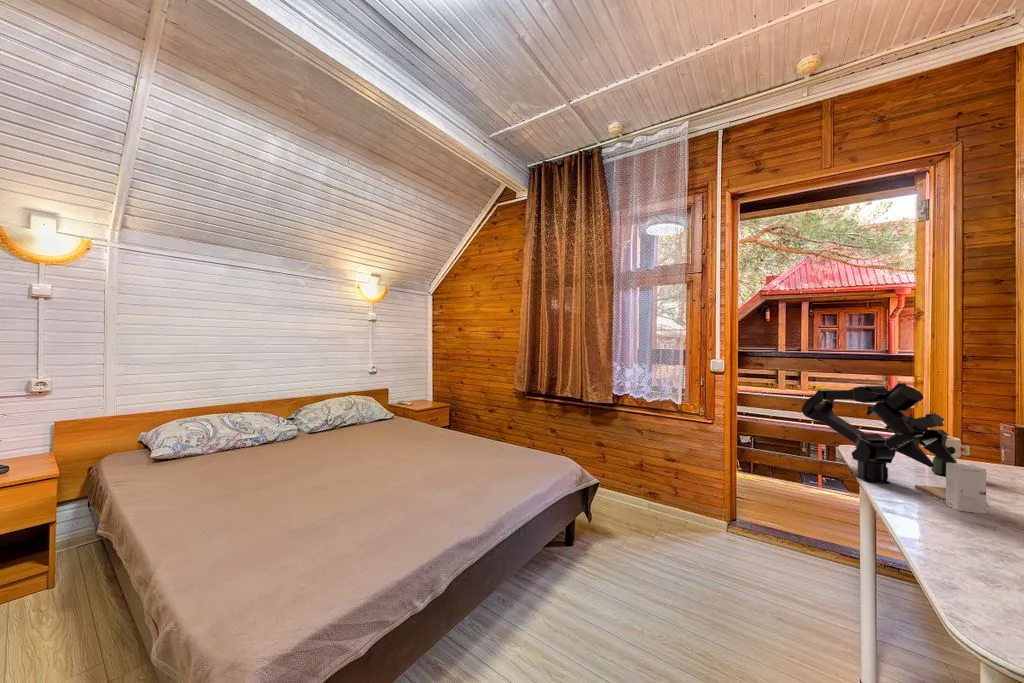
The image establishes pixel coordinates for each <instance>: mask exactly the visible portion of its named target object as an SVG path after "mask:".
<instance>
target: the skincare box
mask: <svg viewBox="0 0 1024 683" xmlns="http://www.w3.org/2000/svg"><path fill="white" fill-rule="evenodd" d="M945 488H946V502H945V504H947V506H948V507H950V508H951V507H952V508H951V509H953V508H954V510H955V511H957V512H959V511H960V512H968V513H975V514H986V513H987V505H986V502H987V469H986V468H984V467H981V466H978V465H974V464H967V463H959V462H957V463H948V462H947V463H946V473H945Z"/></svg>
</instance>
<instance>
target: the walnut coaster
mask: <svg viewBox="0 0 1024 683" xmlns="http://www.w3.org/2000/svg"><path fill="white" fill-rule="evenodd" d="M915 488H916V489H915ZM914 489H915V490H917V489H918V490H917V491H919V490H921V491H923V492H925V493H927V494H929V495H928V496H930V495H931V496H930V497H932V496H933V497H932V498H934V497H936V498H938V499H940V500H942V501H946V486H945V487H944V486H943V487H942V486H929V485H917V484H914ZM921 491H920V492H921ZM923 492H922V493H923ZM925 493H924V494H925ZM927 494H926V495H927ZM936 498H935V499H936ZM938 499H937V500H938ZM940 500H939V501H940ZM942 501H941V502H942ZM986 506H988V503H987V501H986Z"/></svg>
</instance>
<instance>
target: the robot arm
mask: <svg viewBox="0 0 1024 683" xmlns="http://www.w3.org/2000/svg"><path fill="white" fill-rule="evenodd" d="M835 400H851V401H854V402H859V403H863V404H874V405H871V406H867V407H866V408H867V411H866V415H867V416H872V415H875V416H876V417H878V418H879V419H880V421H881V422H883V424H885V425H886V426H884V428H885V429H886V430H887V431H892V432H893V433H894V434H893V435H891V436H889V437H888V438H885V437H883V436H882V435H881V434H879V433H865V432H864V431H862V430H860V429H859V428H857V427H856V426H854V425H852V424H850V423H849V422H848V421H846V420H844V419H842V418H841V417H840V416H838V415H836V414H835V413H834V410H833V408H834V407H835V402H834V401H835ZM922 400H924V396H923V394H922V392H921V391H919V390H917V389H916V388H914V387H911V386H909V385H907V384H906V383H902V382H897V383H896V384H895V385H894V387H893V388H891V389H890V390H888V389H887V388H886V386H883V385H861V386H856V387H853V388H850V389H818V390H817V391H816V392H815V394H814V395H812V396H811V397H809V398H807V400H806V401H805V402H804V404H803V405H802V407H801V412H802V414H803V416H805V418H808V419H810V420H812V421H817V422H820V423H823V424H824V425H825V426H827V427H829V428H831V429H832V430H833V431H834V432H837V433H838V434H839V435H841V436H842V437H843V438H845V439H847V440H848V441H850V442H851V443H852V444H854V446H855V450H853V451H851V456H852V460H855V461H857V473H854V476H855V477H857V478H859V479H861V480H862V481H864V480H865V481H864V482H866V481H867V482H868V483H877V484H878V483H879V484H891V482H890V481H889V467H887V464H892V462H893V460H894V457H895V456H896V452H897V453H900V454H902V455H904V456H905V457H908V458H911V460H915V461H917V462H919V463H920V464H923V465H925V466H926V467H929V468H932V467H933V466H934V464H933V460H931V459H930V458H929V456H928V455H927V454H926V453H925V452H924V451H923V450H922V449H924V448H925V449H924V450H926V451H927V452H930V454H932V453H933V455H935V456H938V457H939V458H941V459H943V460H944V461H946V462H948V463H956V462H955V460H956V459H955V458H954V459H955V460H954V459H953V457H952V455H951V454H950V452H949V450H948V449H947V447H946V440H947V439H948V437H947V436H949V434H948V433H947V432H946V431H945V430H944V429H940V428H938V427H944V426H945V424H944V423H943V422H944V421H945V419H944V418H943V417H941V415H938V414H937V413H935V412H933V413H926V414H925V416H922V417H916V418H915V417H914V416H912V415H910V416H909V415H906V414H905V413H904V412H906V411H908V410H910V409H911V408H913V407H914V406H915V405H917V404H918V403H919V402H921V401H922ZM824 401H825V402H824ZM934 427H935V428H934ZM936 427H937V428H936ZM929 428H930V429H929ZM931 428H932V429H931ZM920 445H921V446H922V445H923V446H925V447H923V448H922V449H921V447H920Z"/></svg>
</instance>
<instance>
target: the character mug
mask: <svg viewBox="0 0 1024 683" xmlns="http://www.w3.org/2000/svg"><path fill="white" fill-rule="evenodd" d="M947 437H948V439H947V440H946V447H947V449H948V450H949V452H950V454H951V455H952V457H953V459H954V460H955V462H956V463H958V462H957V460H956V459H958V458H960V457H961V456H970V452H971V450H970V448H971V447H970V446H969V445H965V444H962V441H961V439H960V438H958V437H954V436H949V435H948V436H947ZM923 447H925V446H923V445H921V448H922V449H924V450H926V449H925V448H923ZM962 448H963V449H964V451H962ZM931 454H933V453H931ZM933 455H934V454H933ZM932 463H933V464H934V466H933V467H930V468H931V469H930V470H931V472H933V473H935V474H939V475H942V474H946V463H947V462H946V461H944V460H943V459H941V458H939V457H938V456H936V455H935V456H933V459H932Z"/></svg>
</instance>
